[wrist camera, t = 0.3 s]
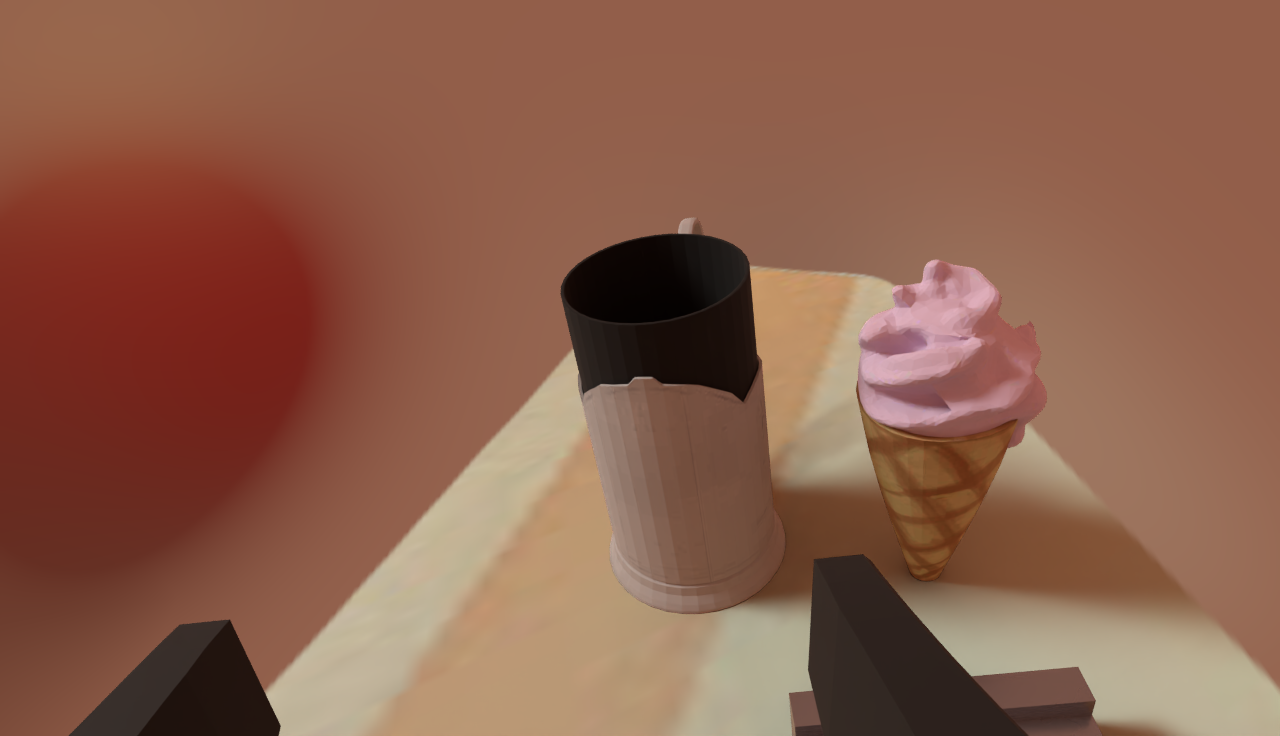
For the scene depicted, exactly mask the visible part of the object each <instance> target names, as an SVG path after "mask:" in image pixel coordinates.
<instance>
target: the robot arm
mask: <svg viewBox="0 0 1280 736" xmlns="http://www.w3.org/2000/svg"><path fill="white" fill-rule="evenodd" d="M808 671H809V676H810V680H811V684H812V689H813V693H814V697H815V701H816V706H817V710H818V714H819V718H820V723H821V727H822V731H823V735H824V736H1029V735H1028V734H1027V733H1026V732H1025V731H1024V730H1023V729H1022V728H1021V727H1020V726H1019V725H1018V724H1017V723H1016V722H1015V721H1014V720H1013V719H1012V718H1011V717H1010V716H1009V715H1008V714H1007V713H1006V712H1005V711H1004V710H1003V709H1002V708H1001V707H1000V706H999V705H998V704H997V703H996V702H995V701H994V700H993V699H992V698H991V697H990V696H989V695H988V693H987V692H986V691H985V690H984V689H983V688H982V687H981V686H980V685H979V684H978V683H977V682H976V681H975V680H974V679H973V678H972V677H971V676H970V675H969V673H968V672H967V671H966V670H965V669H964V668H963V667H962V666H961V665H960V664H959V663H958V662H957V661H956V660H955V659H954V657H953V656H952V655H951V654H950V653H949V652H948V651H947V650H946V649H945V648H944V646H943V645H942V644H941V643H940V642H939V641H938V640H937V639H936V637H935V636H934V635H933V634H932V633H931V632H930V631H929V629H928V628H927V627H926V626H925V625H924V624H923V623H922V622H921V620H920V619H919V618H918V617H917V616H916V615H915V614H914V612H913V611H912V610H911V609H910V608H909V606H908V605H907V604H906V603H905V602H904V601H903V599H902V598H901V597H900V596H899V595H898V593H897V592H896V591H895V590H894V589H893V588H892V586H891V585H890V584H889V583H888V581H887V580H886V579H885V578H884V577H883V575H882V574H881V573H880V572H879V570H878V569H877V568H876V567H875V566H874V564H873V563H872V562H871V561H870V560H869V559H868V558H867V557H865V556H864V555H863V554H862V555H852V556H842V557H833V558H823V559H814V569H813V588H812V607H811V626H810V645H809V664H808ZM280 727H281V726H280V724H279V721H278V719H277V717H276V715H275V713H274V711H273V709H272V707H271V705H270V703H269V701H268V698H267V696H266V694H265V692H264V690H263V688H262V686H261V684H260V682H259V680H258V678H257V676H256V674H255V671H254V669H253V667H252V665H251V663H250V661H249V659H248V657H247V655H246V653H245V651H244V648H243V646H242V644H241V642H240V640H239V638H238V636H237V634H236V632H235V630H234V628H233V625H232V623H231V621H230V620H221V621H212V622H202V623H192V624H182V625H179V626H178V627H177V628H176V629H175V630H174V631H173V632H172V633H171V634H170V635H169V636H167V638H165V639H164V640H163V641H162V642H161V643H160V644H159V645H158V646H157V647H156V648H155V649H154V650H153V651H152V652H151V653H150V654H149V655H148V656H147V657H146V658H145V659H144V660H143V661H142V662H141V663H140V664H139V665H138V666H137V667H136V668H135V669H134V670H133V671H132V672H131V673H130V674H129V675H128V676H127V677H126V678H125V679H124V680H123V681H122V682H121V683H120V684H119V685H118V686H117V687H116V689H114V690H113V691H112V692H111V693H110V694H109V695H108V696H107V697H106V698H105V699H104V700H103V701H102V702H101V704H100V705H99V706H98V707H97V708H96V709H95V710H94V711H93V712H92V713H91V714H90V715H89V716H88V717H87V718H86V719H85V720H84V721H83V722H82V723H81V724H80V725H79V726H78V727H77V728H76V729H75V730H74V731H73V732H72V733H71V734H70V735H69V736H279V731H280Z"/></svg>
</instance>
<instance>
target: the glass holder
mask: <svg viewBox="0 0 1280 736" xmlns="http://www.w3.org/2000/svg"><path fill="white" fill-rule="evenodd" d="M561 298H562V302H563V306H564V310H565V315H566V319H567V323H568V327H569V332H570V336H571V340H572V344H573V349H574V353H575V357H576V361H577V366H578V370H579V375H578V386H579V392H580V396H581V401H582V405H583V409H584V413H585V417H586V421H587V426H588V430H589V434H590V438H591V442H592V446H593V451H594V455H595V459H596V463H597V467H598V471H599V476H600V480H601V484H602V488H603V492H604V496H605V501H606V505H607V509H608V513H609V517H610V521H611V526H612V530H613V534H612V538H611V544H610V561H611V565H612V568H613V572H614V574H615V575H616V577H617V579H618V581H619V583H620V584H621V585H622V586H623V587H624V588H625V589H626V591H627V592H628V593H630V594H631V595H632V596H634V597H635V598H636V599H638V600H639V601H641V602H643V603H645V604H647V605H649V606H651V607H654V608H657V609H661V610H664V611H668V612H675V613H682V614H700V613H707V612H713V611H718V610H721V609H725V608H728V607H732V606H734V605H736V604H738V603H740V602H742V601H745V600H747V599H748V598H750V597H751V596H753V595H754V594H756V593H757V592H759V591H760V590H761V589H762V588H763V587H764V586H765V585H766V584H767V583H768V582H769V581H770V580H771V579H772V577H773V576H774V575H775V573H776V572H777V570H778V569H779V567H780V564H781V562H782V560H783V557H784V552H785V547H786V542H785V532H784V528H783V525H782V522H781V520H780V518H779V516H778V514H777V512H776V511H775V509H774V508H773V495H772V483H771V470H770V458H769V445H768V433H767V421H766V408H765V396H764V383H763V371H762V360H761V359H760V357H759V356H758V355H757V350H756V338H755V326H754V314H753V302H752V290H751V278H750V266H749V261H748V259H747V256H746V255H745V254H744V253H743V252H742V250H741V249H739V248H738V247H736V246H735V245H733V244H731V243H729V242H727V241H724V240H722V239H718V238H714V237H711V236H705V235H704V234H703V230H702V226H701V223H700V221H699V220H698V219H697V218H686V219H684V220H682V221H681V223H680V226H679V230H678V234H662V235H653V236H647V237H641V238H637V239H632V240H628V241H624V242H621V243H618V244H615V245H613V246H610V247H607V248H605V249H603V250H600V251H598V252H596V253H594V254H592V255H591V256H589V257H587V258H586V259H584V260H583V261H581V262H580V263H578V264H577V265H576V266H575V267H574V268H573V269H572V270H571V271H570V272H569V273H568V274H567V276H566V277H565V279H564V281H563V283H562V286H561Z"/></svg>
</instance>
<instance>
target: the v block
mask: <svg viewBox="0 0 1280 736" xmlns="http://www.w3.org/2000/svg"><path fill="white" fill-rule="evenodd" d="M972 678H973V679H974V680H975V681H976V682H977V683H978V684H979V685H980V686H981V687H982V688H983V689H984V690H985V691H986V692H987V693H988V695H989V696H990V697H991V698H992V699H993V700H994V701H995V702H996V703H997V704H998V705H999V706H1000V707H1001V708H1002V709H1003V710H1004V711H1005V712H1006V713H1007V714H1008V715H1009V716H1010V717H1011V718H1012V719H1013V720H1014V721H1015V722H1016V723H1017V724H1018V725H1019V726H1020V727H1021V728H1022V729H1023V730H1024V731H1025V732H1026V733H1027V734H1028V735H1029V736H1103V735H1102V733H1101V731H1100V729H1099V728H1098V726H1097V724H1096V722H1095V720H1094V718H1093V716H1092V712H1093V709H1094V705H1095V702H1096V700H1095V698H1094V696H1093V695H1092V693H1091V691H1090V689H1089V687H1088V685H1087V683H1086V681H1085V679H1084V677H1083V676H1082V674H1081V672H1080V670H1079V668H1078V667H1071V668H1060V669H1049V670H1038V671H1027V672H1016V673H1005V674H994V675H983V676H972ZM789 699H790V712H791V724H792V736H824V735H823V731H822V727H821V723H820V718H819V714H818V710H817V706H816V701H815V697H814V693H813V691H806V692H795V693H789Z"/></svg>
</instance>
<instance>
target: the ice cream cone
mask: <svg viewBox="0 0 1280 736" xmlns="http://www.w3.org/2000/svg"><path fill="white" fill-rule="evenodd" d="M892 291H893V299H894V302H895V307H894V308H892V309H889V310H886V311H883V312H880V313H878V314H875V315H874V316H872V317H871V318H870V319H868V320H867V321H866V322H865V324H864V326H863V328H862V329H861V331H860V333H859V345H860V347H861V351H862V352H861V356H860V360H859V369H858V381H857V388H856V392H857V398H858V403H859V407H860V412H861V416H862V421H863V425H864V430H865V434H866V439H867V443H868V448H869V452H870V455H871V459H872V462H873V466H874V469H875V473H876V476H877V480H878V483H879V486H880V489H881V492H882V496H883V499H884V502H885V505H886V508H887V511H888V514H889V516H890V519H891V522H892V525H893V527H894V530H895V533H896V536H897V538H898V541H899V544H900V546H901V549H902V552H903V555H904V557H905V560H906V563H907V566H908V568H909V571H910V573H911V575H913V576H914V577H915V578H916V579H919V580H922V581H931V580H934V579H936V578H938V577H939V575H940V574H941V572H942V570H943V569H944V567H945V565H946V564H947V562H948V560H949V559H950V557H951V555H952V554H953V552H954V550H955V548H956V547H957V545H958V543H959V542H960V540H961V538H962V537H963V535H964V533H965V532H966V530H967V528H968V526H969V525H970V523H971V521H972V519H973V517H974V516H975V514H976V512H977V510H978V508H979V506H980V505H981V503H982V501H983V499H984V497H985V495H986V493H987V491H988V489H989V487H990V485H991V483H992V481H993V479H994V477H995V475H996V473H997V470H998V468H999V466H1000V464H1001V462H1002V459H1003V457H1004V454H1005V452H1006V450H1007V448H1010V447H1014V446H1016V445H1018V444H1019V443H1021V442H1022V439H1023V437H1024V432H1025V425H1026V424H1027V423H1028V422H1030V421H1031V420H1032V419H1034V418H1035V417H1036V416H1037V415H1038V414H1039V413H1040V412H1041V411H1042V410H1043V408H1044V407H1045V404H1046V400H1047V394H1046V390H1045V387H1044V385H1043V383H1042V381H1041V380H1040V379H1039V377H1038V376H1037V375H1036V374H1035V368H1036V367H1037V365H1038V363H1039V360H1040V356H1041V351H1040V348H1039V346H1038V344H1037V343H1036V337H1035V336H1036V333H1035V331H1034V326H1033V324H1032V323H1031V322H1029V323H1028V324H1027V325H1022V326H1019V327H1017V328H1016V329H1014V328H1013V327H1012V326H1010V325H1009V324H1008V323H1006V322H1005V321H1004V320H1002V318H1001V317H1000V316H999V315H998V312H999V309H1000V306H1001V300H1002V297H1001V295H1000V293H999V292H998V290H997V289H996V287H995V286H994V285H992V284H991V283H990V282H989V281H988V280H987V279H986V278H985V276H984V275H982V274H981V273H980V272H979V271H978V270H977V269H974V268H971V267H964V266H958V265H952V264H949V263H947V262H944V261H941V260H932V261H931V262H929V263H927V265H926V266H925V268H924V274H923V280H922V282H921V283H917V284H912V285H906V286H904V285H898V286H895V287H894V288H893V289H892Z"/></svg>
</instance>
